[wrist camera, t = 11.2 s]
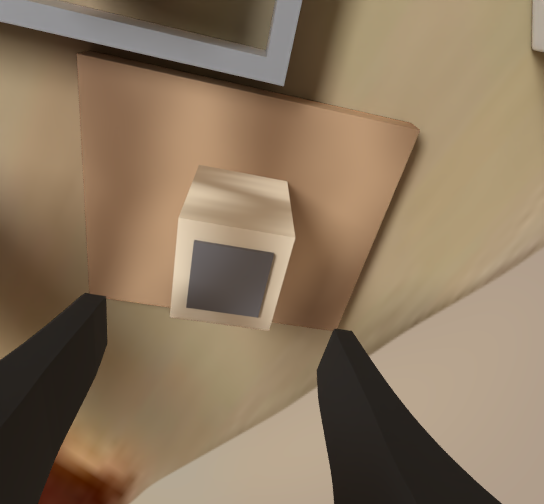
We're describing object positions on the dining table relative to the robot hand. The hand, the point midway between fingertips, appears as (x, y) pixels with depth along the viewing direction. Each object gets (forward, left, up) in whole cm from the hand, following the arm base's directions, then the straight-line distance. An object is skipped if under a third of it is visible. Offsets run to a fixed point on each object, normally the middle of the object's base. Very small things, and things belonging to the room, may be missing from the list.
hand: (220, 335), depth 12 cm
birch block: (0, 0, -8) cm, 8 cm away
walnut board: (0, 0, -9) cm, 9 cm away
